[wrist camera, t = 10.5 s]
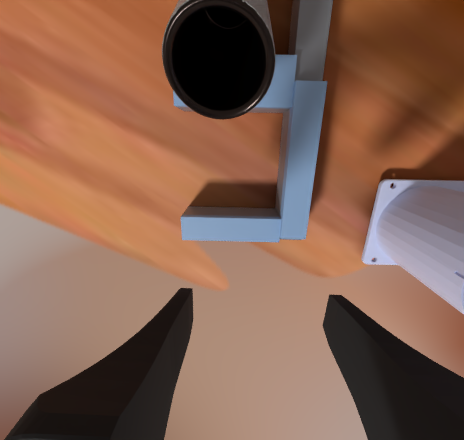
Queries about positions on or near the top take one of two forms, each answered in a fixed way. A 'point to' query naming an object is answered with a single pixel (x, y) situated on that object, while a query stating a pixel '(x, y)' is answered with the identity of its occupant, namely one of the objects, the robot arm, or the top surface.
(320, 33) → the grey flat angled piece
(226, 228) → the blue u-shaped bracket
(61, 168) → the top surface
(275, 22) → the top surface
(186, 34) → the grey cylinder
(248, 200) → the top surface
